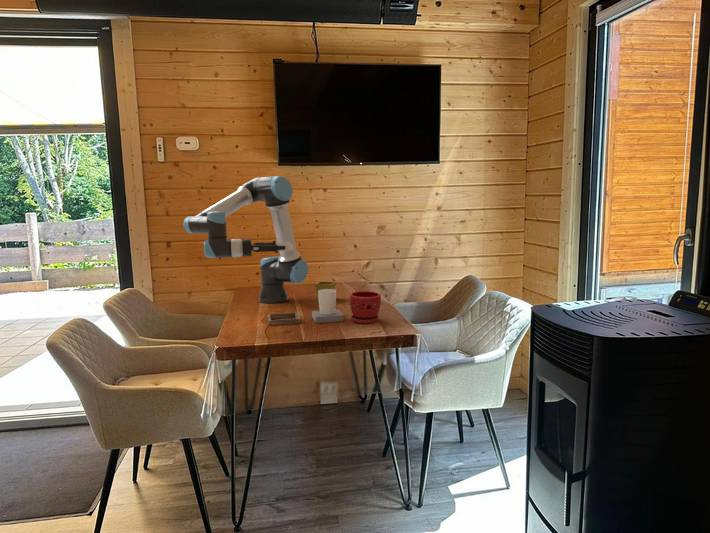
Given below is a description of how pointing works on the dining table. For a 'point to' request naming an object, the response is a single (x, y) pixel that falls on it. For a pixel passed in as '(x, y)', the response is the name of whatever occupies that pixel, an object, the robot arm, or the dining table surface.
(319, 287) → the flower pot
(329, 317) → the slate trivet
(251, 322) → the dining table surface
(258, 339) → the dining table surface
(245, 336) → the dining table surface
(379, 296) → the plant pot
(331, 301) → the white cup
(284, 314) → the walnut frame
